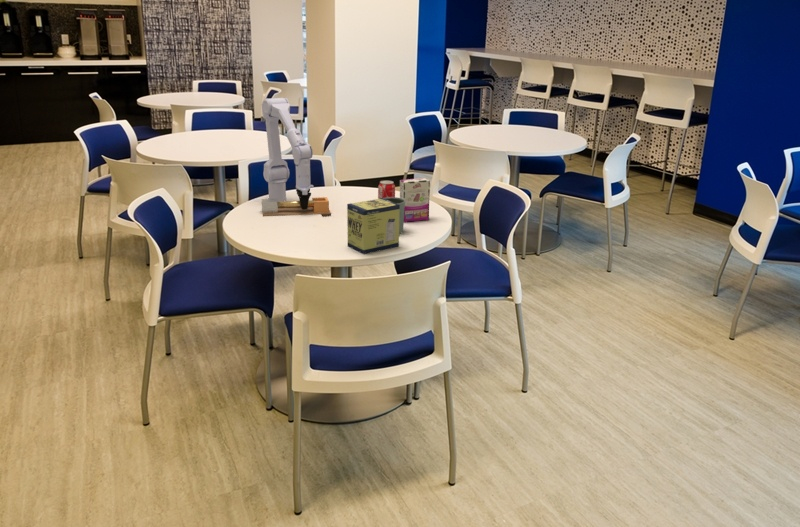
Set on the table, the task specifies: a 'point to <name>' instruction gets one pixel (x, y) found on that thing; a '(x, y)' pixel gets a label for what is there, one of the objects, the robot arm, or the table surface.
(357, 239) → the protein box
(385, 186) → the soda can
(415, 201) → the candy bar box
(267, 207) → the outer sleeve
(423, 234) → the table surface
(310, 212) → the base board
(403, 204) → the grey cup
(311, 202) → the inner tube
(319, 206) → the socket block
